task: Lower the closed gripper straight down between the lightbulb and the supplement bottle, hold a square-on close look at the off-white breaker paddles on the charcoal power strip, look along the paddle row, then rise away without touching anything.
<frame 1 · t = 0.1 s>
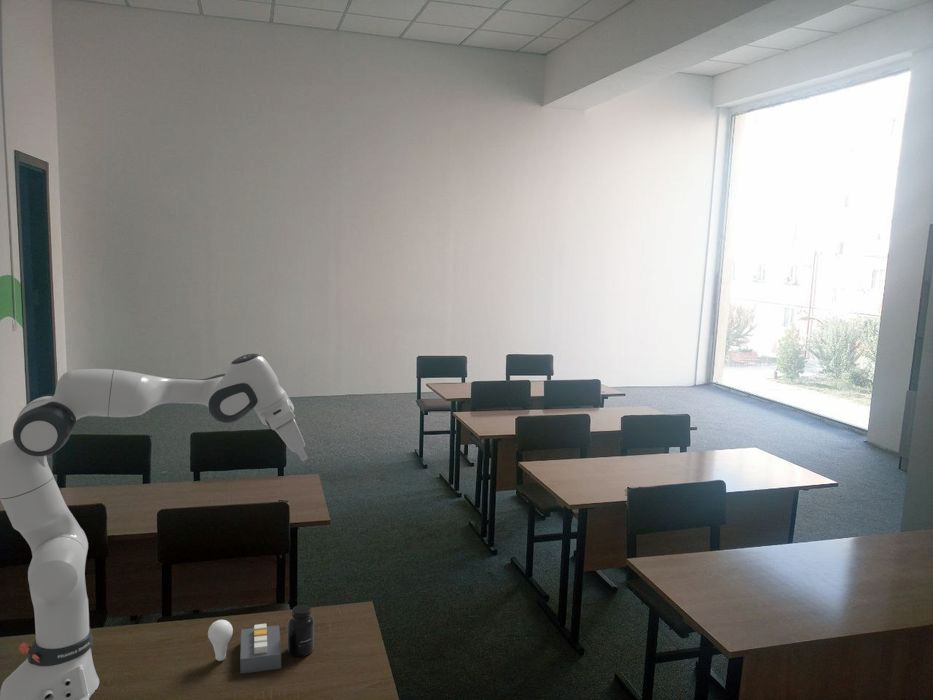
hand: (301, 454, 183), 54 cm above the table, tool tilted 30°, fingers open, 8 cm apart
breaker strip: (260, 655, 186), on the table
supplement bottle: (300, 651, 189), on the table
lightbulb: (220, 661, 183), on the table
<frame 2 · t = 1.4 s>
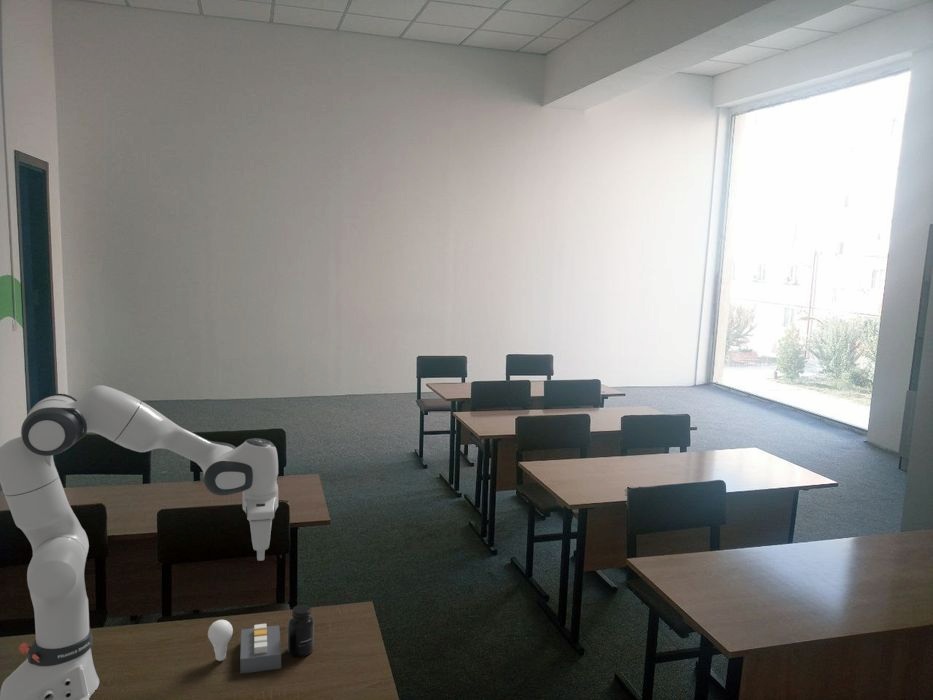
hand: (260, 551, 181), 29 cm above the table, tool pointing down, fingers open, 8 cm apart
nothing on the table moved.
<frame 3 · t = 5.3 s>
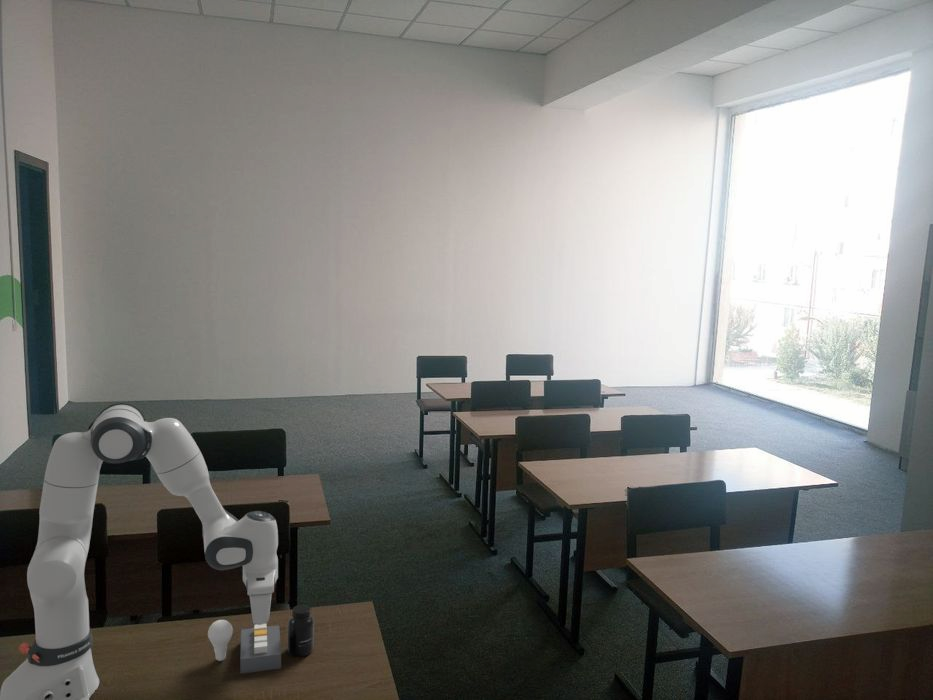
hand: (260, 621, 184), 10 cm above the table, tool pointing down, fingers closed
nothing on the table moved.
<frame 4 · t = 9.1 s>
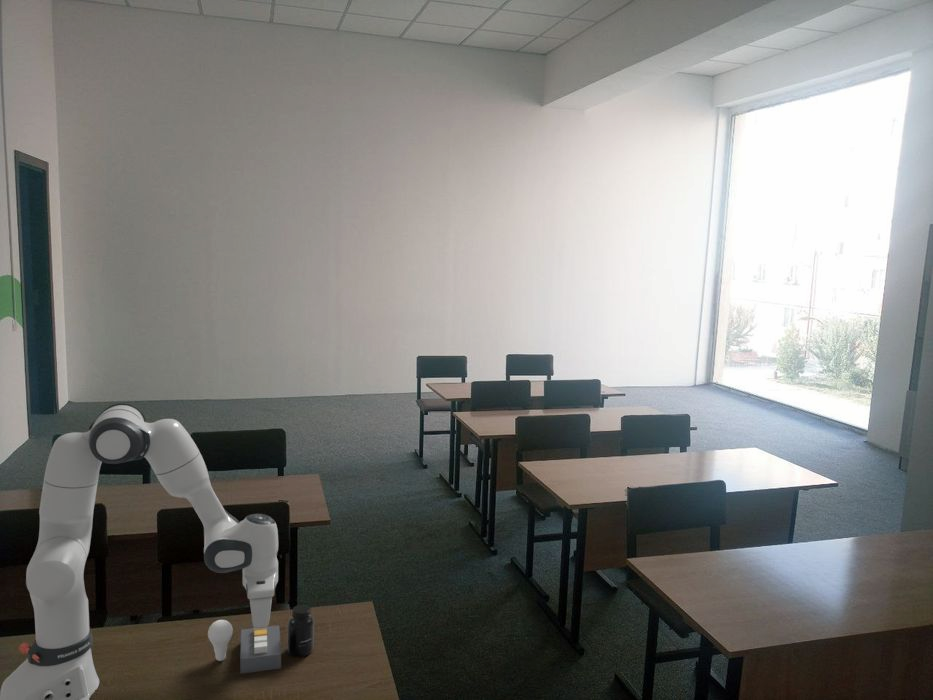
hand: (260, 625, 182), 10 cm above the table, tool pointing down, fingers closed
nothing on the table moved.
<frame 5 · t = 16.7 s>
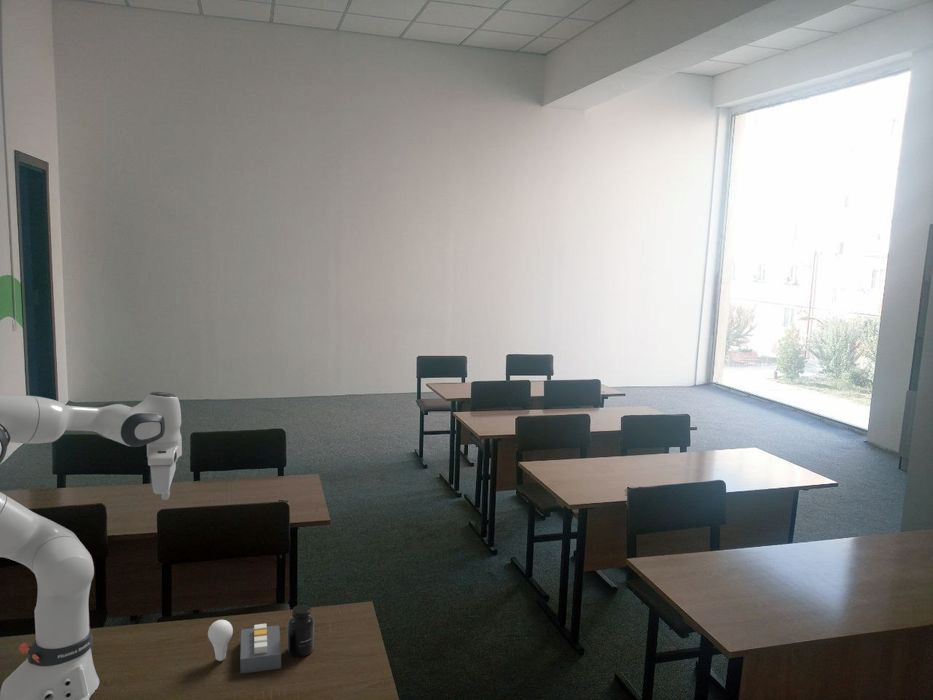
hand: (165, 497, 194), 37 cm above the table, tool pointing down, fingers closed
nothing on the table moved.
at the end: lightbulb moved 0.2 cm from its start; supplement bottle moved 0.2 cm from its start; lightbulb tilted 0° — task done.
